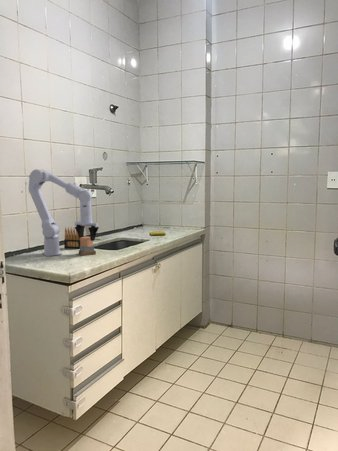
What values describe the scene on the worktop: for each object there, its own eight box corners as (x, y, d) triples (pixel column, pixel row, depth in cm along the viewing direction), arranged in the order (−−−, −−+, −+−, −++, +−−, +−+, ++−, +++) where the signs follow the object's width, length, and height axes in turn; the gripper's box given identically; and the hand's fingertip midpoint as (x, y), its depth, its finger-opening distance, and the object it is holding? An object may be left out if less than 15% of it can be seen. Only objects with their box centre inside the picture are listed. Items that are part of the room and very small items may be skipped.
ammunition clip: (64, 248, 213) (63, 227, 212) (66, 247, 215) (65, 226, 213) (81, 249, 210) (80, 227, 209) (82, 248, 212) (82, 227, 211)
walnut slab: (78, 254, 198) (78, 250, 198) (91, 253, 201) (91, 248, 201) (82, 257, 192) (82, 252, 192) (95, 255, 195) (95, 250, 195)
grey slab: (80, 250, 197) (79, 245, 197) (90, 249, 200) (89, 244, 200) (83, 252, 192) (83, 247, 192) (94, 250, 195) (93, 246, 195)
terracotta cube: (80, 246, 195) (80, 237, 194) (86, 244, 199) (86, 236, 198) (86, 246, 193) (86, 238, 192) (93, 245, 197) (92, 237, 196)
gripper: (70, 214, 194) (71, 240, 196) (91, 215, 187) (92, 242, 188) (79, 212, 200) (80, 238, 202) (100, 214, 193) (101, 240, 194)
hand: (87, 240), depth 195 cm, fingers open, 7 cm apart
